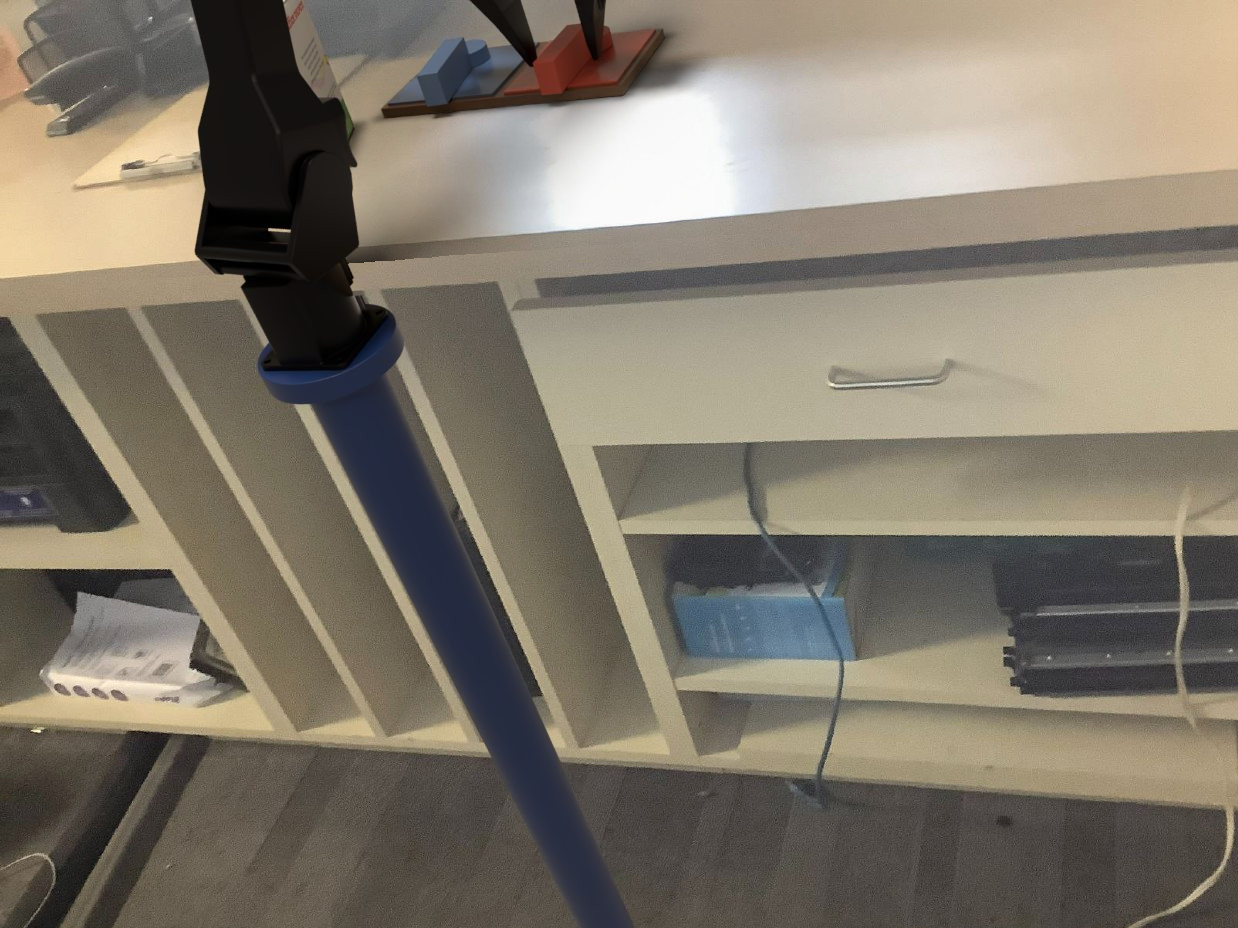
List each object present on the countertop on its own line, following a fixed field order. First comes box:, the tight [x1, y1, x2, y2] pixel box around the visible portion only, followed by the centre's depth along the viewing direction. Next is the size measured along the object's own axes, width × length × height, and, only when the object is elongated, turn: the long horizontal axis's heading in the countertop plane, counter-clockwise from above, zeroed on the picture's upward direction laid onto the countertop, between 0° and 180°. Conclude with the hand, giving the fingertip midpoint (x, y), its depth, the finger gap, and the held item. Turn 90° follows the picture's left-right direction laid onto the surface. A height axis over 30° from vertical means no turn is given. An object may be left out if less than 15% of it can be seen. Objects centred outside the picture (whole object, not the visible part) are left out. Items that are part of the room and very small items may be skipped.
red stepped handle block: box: [533, 22, 613, 95], centre depth 94 cm, size 12×4×3 cm, turn 165°
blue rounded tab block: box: [416, 36, 490, 107], centre depth 97 cm, size 12×4×3 cm, turn 173°
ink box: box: [283, 0, 355, 140], centre depth 90 cm, size 8×5×12 cm, turn 4°
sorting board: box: [380, 28, 665, 118], centre depth 97 cm, size 12×22×1 cm, turn 75°
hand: (565, 61), depth 93 cm, fingers open, 5 cm apart
